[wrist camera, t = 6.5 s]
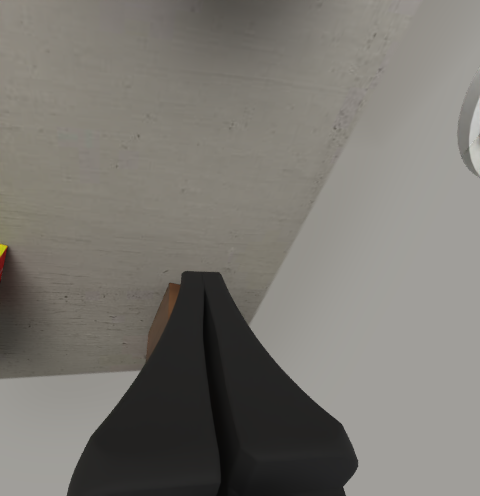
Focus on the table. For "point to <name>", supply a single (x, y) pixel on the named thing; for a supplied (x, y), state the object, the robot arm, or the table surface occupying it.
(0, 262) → the puzzle toy
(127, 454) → the robot arm
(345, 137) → the table surface
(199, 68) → the table surface
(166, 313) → the wooden block
